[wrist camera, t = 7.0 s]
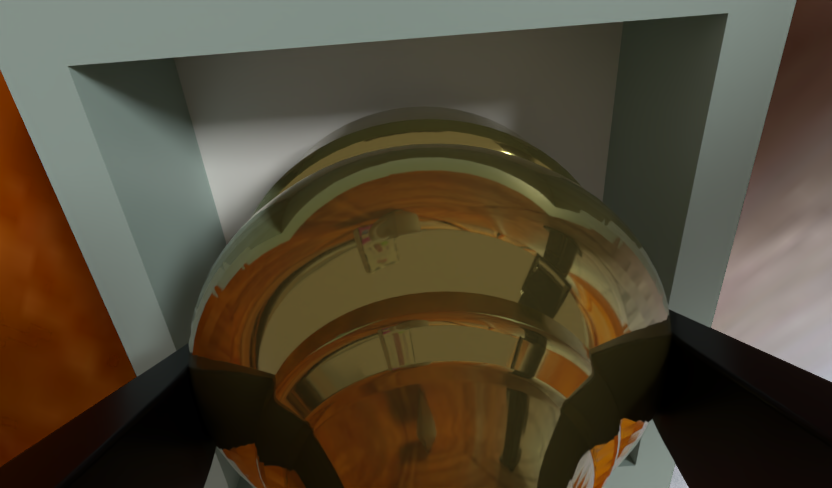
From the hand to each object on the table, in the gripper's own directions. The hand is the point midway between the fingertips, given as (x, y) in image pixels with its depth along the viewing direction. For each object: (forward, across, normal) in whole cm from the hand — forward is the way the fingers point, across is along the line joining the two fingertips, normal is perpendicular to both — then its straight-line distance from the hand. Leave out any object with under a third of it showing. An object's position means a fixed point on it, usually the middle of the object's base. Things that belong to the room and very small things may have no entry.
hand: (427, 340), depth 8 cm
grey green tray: (+5, 0, 0) cm, 5 cm away
